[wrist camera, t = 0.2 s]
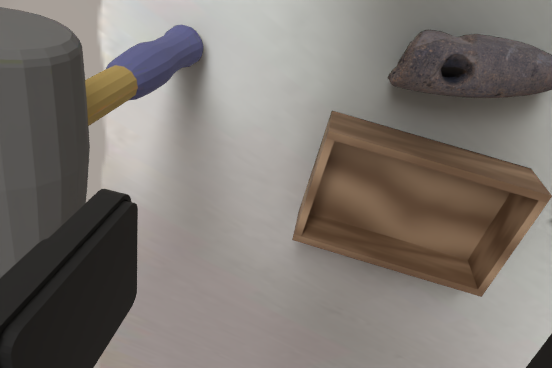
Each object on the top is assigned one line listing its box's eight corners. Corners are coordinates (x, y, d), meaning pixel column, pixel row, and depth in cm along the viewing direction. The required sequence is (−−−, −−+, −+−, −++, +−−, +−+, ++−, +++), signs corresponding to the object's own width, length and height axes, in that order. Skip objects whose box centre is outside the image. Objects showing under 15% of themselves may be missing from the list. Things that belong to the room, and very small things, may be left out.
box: (331, 110, 44) (328, 130, 40) (530, 168, 44) (552, 196, 39) (298, 212, 52) (292, 239, 47) (469, 263, 51) (481, 296, 46)
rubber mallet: (214, 108, 47) (37, 309, 21) (150, 89, 47) (-104, 265, 21) (234, -12, 40) (15, 66, 15) (159, -33, 40) (-188, 7, 15)
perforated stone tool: (564, 39, 38) (603, 56, 32) (541, 95, 40) (572, 121, 34) (395, 19, 39) (402, 32, 33) (383, 75, 42) (387, 96, 36)
